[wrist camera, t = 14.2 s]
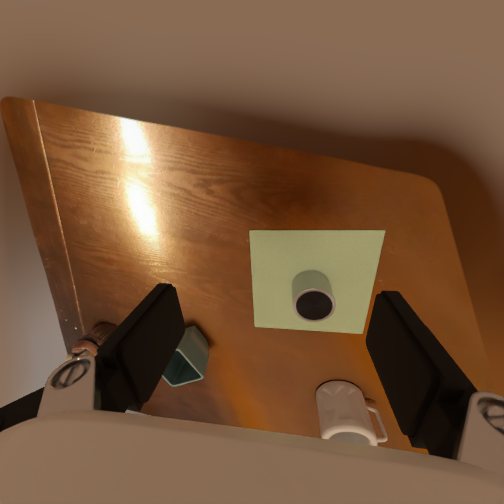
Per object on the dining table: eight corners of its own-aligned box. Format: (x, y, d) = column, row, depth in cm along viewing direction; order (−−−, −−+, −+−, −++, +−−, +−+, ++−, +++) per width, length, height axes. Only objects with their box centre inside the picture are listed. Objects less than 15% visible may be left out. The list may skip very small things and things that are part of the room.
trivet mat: (249, 230, 38) (249, 230, 37) (384, 229, 34) (385, 230, 34) (254, 326, 47) (254, 326, 47) (362, 333, 44) (362, 333, 43)
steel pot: (292, 269, 40) (293, 288, 34) (330, 270, 39) (338, 289, 33) (291, 299, 42) (292, 321, 37) (327, 301, 41) (333, 323, 36)
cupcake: (86, 326, 55) (47, 361, 46) (111, 315, 52) (74, 349, 43) (112, 352, 58) (80, 389, 49) (137, 342, 55) (108, 380, 46)
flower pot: (167, 327, 51) (145, 360, 43) (196, 315, 48) (177, 348, 40) (189, 352, 53) (172, 387, 45) (217, 342, 51) (204, 378, 42)
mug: (312, 403, 55) (317, 453, 46) (319, 376, 50) (326, 424, 41) (368, 412, 53) (384, 465, 44) (380, 384, 49) (401, 437, 40)
